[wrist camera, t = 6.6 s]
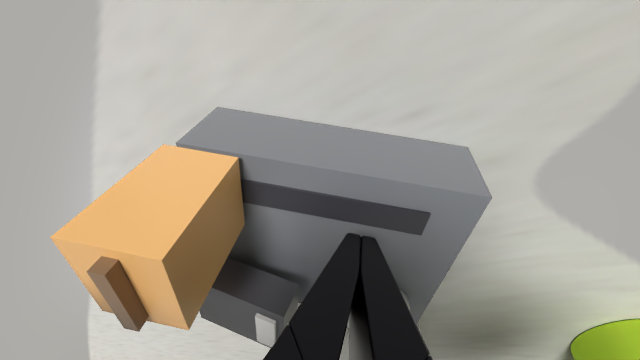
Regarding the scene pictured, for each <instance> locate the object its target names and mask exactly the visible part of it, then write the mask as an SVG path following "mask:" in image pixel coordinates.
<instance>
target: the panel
mask: <svg viewBox="0 0 640 360" xmlns="http://www.w3.org/2000/svg"><path fill="white" fill-rule="evenodd" d="M176 145H177V147H182V148H187V149H193V150H199V151H205V152H210V153H216V154H222V155H228V156H233V157H238V158H239V169H240V179H241V190H242V200H243V210H244V221H245V225H244V227H243V228H242V230H241V232H240V234H239V236H238V238H237V240H236V242H235V244H234V246H233V247H232V249H231V251H230V253H229V255H228V258H231V259H233V260H236V261H239V262H241V263H244V264H246V265H249V266H252V267H254V268H257V269H260V270H262V271H265V272H267V273H270V274H273V275H275V276H278V277H281V278H283V279H286V280H289V281H291V282H294V283H296V284H299V295H298V302H299V303H302V301H303V300H304V298H305V297H306V295H307V294H308V292H309V291H310V289H311V287H312V286H313V284H314V283H315V281H316V280H317V278H318V277H319V275H320V274H321V272H322V271H323V269H324V268H325V266H326V264H327V263H328V261H329V260H330V258H331V257H332V255H333V254H334V252H335V251H336V249H337V248H338V246H339V245H340V243H341V242H342V240H343V238H344V237H345V235H346V234H347V233H353V234H359V235H360V236H369V237H374V238H375V239H376V240H377V242H378V244H379V246H380V249H381V251H382V253H383V255H384V257H385V259H386V261H387V263H388V266H389V268H390V270H391V272H392V274H393V276H394V278H395V281H396V283H397V285H398V287H399V289H400V291H401V293H402V295H403V298H404V300H405V302H406V304H407V306H408V308H409V310H410V312H411V315H412V317H413V319H414V321H415V323H417V322H418V320H419V318H420V317H421V315H422V314H423V312H424V310H425V309H426V307H427V305H428V304H429V302H430V300H431V299H432V297H433V295H434V294H435V292H436V290H437V289H438V287H439V285H440V284H441V282H442V280H443V279H444V277H445V275H446V274H447V272H448V270H449V269H450V267H451V265H452V264H453V262H454V260H455V259H456V257H457V255H458V254H459V252H460V250H461V249H462V247H463V245H464V244H465V242H466V240H467V239H468V237H469V235H470V234H471V232H472V230H473V229H474V227H475V225H476V224H477V222H478V220H479V219H480V217H481V215H482V214H483V212H484V210H485V209H486V207H487V205H488V204H489V202H490V200H491V199H492V196H491V194H490V192H489V190H488V188H487V186H486V184H485V182H484V179H483V177H482V175H481V173H480V171H479V169H478V167H477V165H476V163H475V161H474V159H473V157H472V155H471V152H470V150H469V148H468V147H462V146H456V145H450V144H444V143H437V142H431V141H425V140H419V139H413V138H406V137H400V136H394V135H388V134H381V133H375V132H369V131H363V130H357V129H350V128H344V127H338V126H332V125H325V124H319V123H313V122H307V121H301V120H294V119H288V118H282V117H276V116H269V115H263V114H257V113H251V112H245V111H238V110H232V109H226V108H220V107H217V108H216V109H215V110H214V111H212V112H211V113H210V114H209V115H208V116H207V117H205V118H204V119H203V120H202V121H201V122H200V123H198V124H197V125H196V126H195V127H194V128H193V129H191V130H190V131H189V132H188V133H187V134H186V135H185V136H183V137H182V138H181V139H180V140H179V141H178V142H176ZM347 328H348V329H349V320H348V324H347Z"/></svg>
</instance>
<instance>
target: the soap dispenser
mask: <svg viewBox="0 0 640 360" xmlns="http://www.w3.org/2000/svg"><path fill="white" fill-rule="evenodd" d="M571 353H572V355H573V357H574V359H575V360H640V319H633V320H624V321H618V322H613V323H608V324H604V325H601V326H598V327H595V328H592V329H590V330H588V331H586V332H584V333H582V334H581V335H579V336H578V337H577V338H576V339H575V340H574V341H573V342H572V344H571Z"/></svg>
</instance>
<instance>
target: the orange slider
mask: <svg viewBox="0 0 640 360" xmlns="http://www.w3.org/2000/svg"><path fill="white" fill-rule="evenodd" d="M244 225H245V221H244V210H243V200H242V190H241V179H240V169H239V158H238V157H233V156H228V155H222V154H216V153H210V152H205V151H199V150H193V149H187V148H182V147H176V146H170V145H164V144H163V145H162V146H161V147H160V148H159V149H157V150H156V151H155V152H154V153H152V154H151V155H150V156H149V157H148V158H146V159H145V160H144V161H143V162H141V163H140V164H139V165H138V166H137V167H135V168H134V169H133V170H132V171H130V172H129V173H128V174H127V175H126V176H124V177H123V178H122V179H121V180H120V181H118V182H117V183H116V184H115V185H113V186H112V187H111V188H110V189H109V190H107V191H106V192H105V193H104V194H102V195H101V196H100V197H99V198H98V199H96V200H95V201H94V202H93V203H91V204H90V205H89V206H88V207H87V208H85V209H84V210H83V211H82V212H81V213H79V214H78V215H77V216H76V217H74V218H73V219H72V220H71V221H70V222H68V223H67V224H66V225H65V226H63V227H62V228H61V229H60V230H59V231H58V232H56V233H55V234H54V235H52V236H51V239H52V240H53V242H54V243H55V245H56V246H57V247H58V249H59V250H60V252H61V253H62V254H63V256H64V257H65V259H66V260H67V262H68V263H69V264H70V266H71V267H72V268H73V270H74V271H75V273H76V274H77V276H78V277H79V278H80V280H81V281H82V282H83V284H84V285H85V287H86V288H87V290H88V291H89V292H90V294H91V295H92V297H93V298H94V299H95V301H96V302H97V304H98V305H99V307H100V308H101V309H102V311H106V312H110V313H114V314H115V315H116V317H117V318H118V320H119V321H120V323H121V324H122V326H123V327H124V328H126V329H130V330H134V331H140V329H141V328H142V326H143V325H144V323H145V322H146V321H150V322H155V323H159V324H163V325H168V326H172V327H177V328H181V329H186V330H189V329H190V327H191V325H192V323H193V321H194V320H195V318H196V316H197V314H198V312H199V310H200V308H201V306H202V304H203V302H204V301H205V299H206V297H207V295H208V293H209V291H210V289H211V287H212V285H213V283H214V282H215V280H216V278H217V276H218V274H219V272H220V270H221V268H222V266H223V265H224V263H225V261H226V259H227V257H228V255H229V253H230V251H231V249H232V247H233V246H234V244H235V242H236V240H237V238H238V236H239V234H240V232H241V230H242V228H243V227H244Z"/></svg>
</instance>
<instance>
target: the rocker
mask: <svg viewBox="0 0 640 360" xmlns="http://www.w3.org/2000/svg"><path fill="white" fill-rule="evenodd" d="M298 295H299V284H296V283H294V282H291V281H289V280H286V279H283V278H281V277H278V276H275V275H273V274H270V273H267V272H265V271H262V270H260V269H257V268H254V267H252V266H249V265H246V264H244V263H241V262H239V261H236V260H233V259H231V258H228V257H227V259H226V261H225V263H224V265H223V266H222V268H221V270H220V272H219V274H218V276H217V278H216V280H215V282H214V283H213V285H212V287H211V289H210V291H209V293H208V295H207V297H206V299H205V301H204V302H203V304H202V306H201V308H200V310H199V311H200V314H201V317H202V318H204V319H206V320H209V321H211V322H213V323H215V324H218V325H220V326H222V327H224V328H227V329H229V330H231V331H233V332H236V333H238V334H240V335H242V336H245V337H247V338H249V339H252V340H254V341H256V342H258V343H261V344H263V345H265V346H267V347H270V348H272V346H273V345H274V343H275V342H276V341H277V339H278V338H279V336H280V335H281V333H282V332H283V330H284V329H285V327H286V326H287V325H288V323H289V321H290V320H291V318H292V317H293V315H294V314H295V312H296V310H297V307H298Z"/></svg>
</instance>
